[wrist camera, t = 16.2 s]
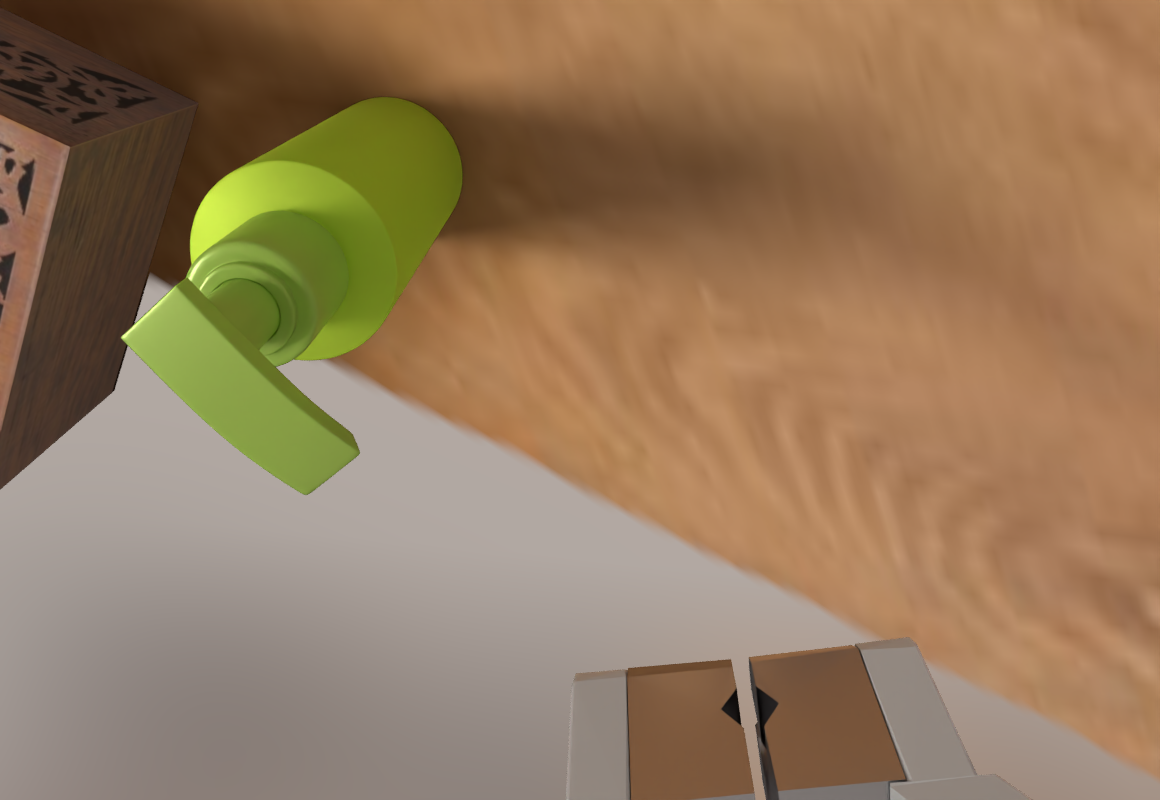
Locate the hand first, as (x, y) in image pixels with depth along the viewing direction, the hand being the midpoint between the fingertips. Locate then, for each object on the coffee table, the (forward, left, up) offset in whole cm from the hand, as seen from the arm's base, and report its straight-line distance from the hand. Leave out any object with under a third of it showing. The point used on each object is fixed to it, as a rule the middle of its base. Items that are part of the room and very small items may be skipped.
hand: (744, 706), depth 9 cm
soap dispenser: (+10, 0, -31) cm, 33 cm away
